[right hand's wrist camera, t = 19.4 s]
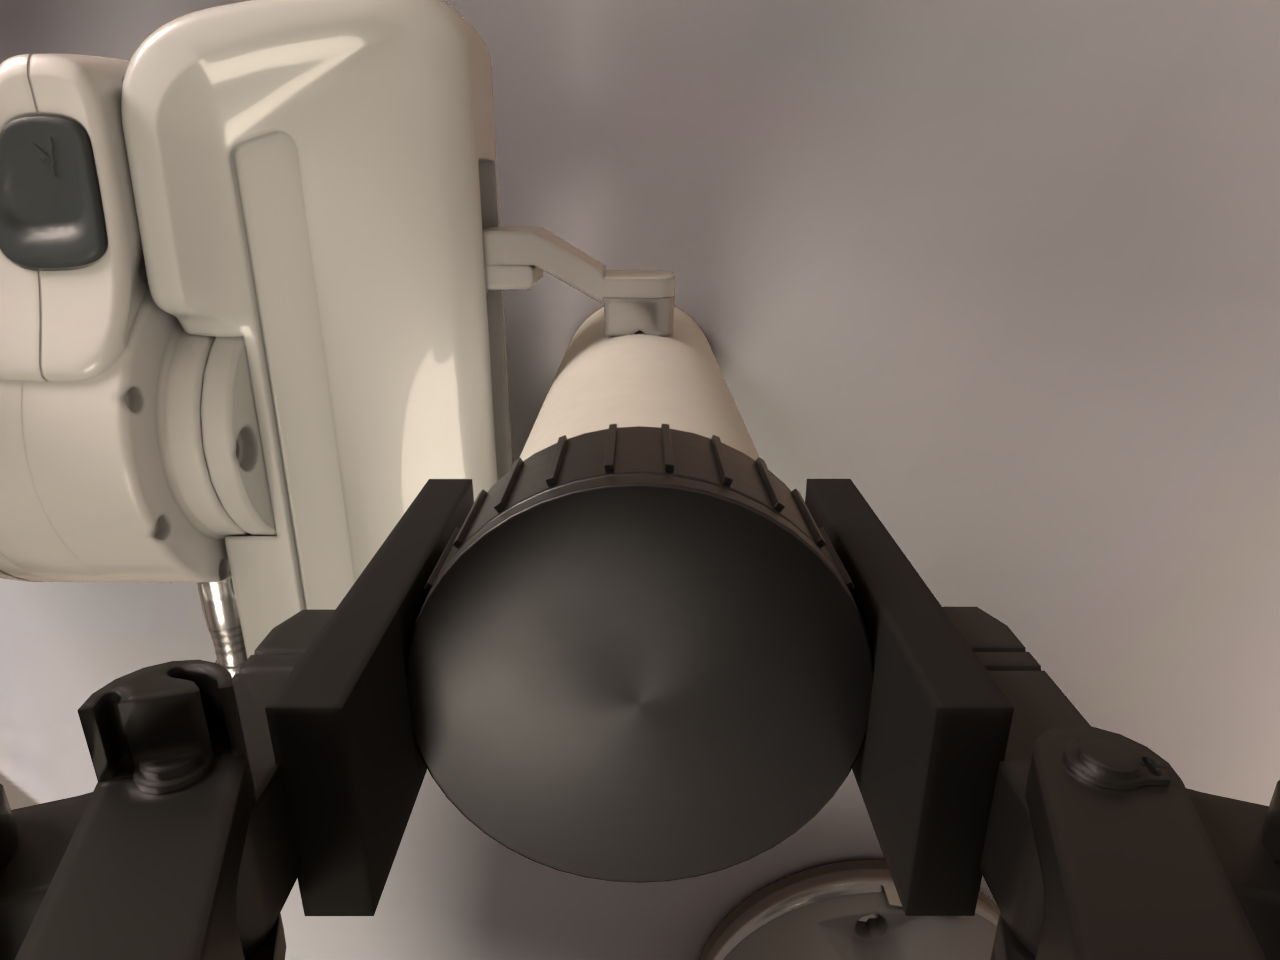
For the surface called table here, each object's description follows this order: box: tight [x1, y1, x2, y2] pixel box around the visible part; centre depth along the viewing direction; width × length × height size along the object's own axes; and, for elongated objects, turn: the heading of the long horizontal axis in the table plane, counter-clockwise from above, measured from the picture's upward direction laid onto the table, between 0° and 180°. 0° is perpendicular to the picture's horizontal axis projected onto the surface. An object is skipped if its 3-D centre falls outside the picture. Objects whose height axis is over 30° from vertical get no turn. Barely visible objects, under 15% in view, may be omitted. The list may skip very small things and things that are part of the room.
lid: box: [405, 424, 874, 882], centre depth 11 cm, size 6×6×2 cm
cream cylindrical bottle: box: [520, 307, 759, 461], centre depth 19 cm, size 5×5×18 cm
